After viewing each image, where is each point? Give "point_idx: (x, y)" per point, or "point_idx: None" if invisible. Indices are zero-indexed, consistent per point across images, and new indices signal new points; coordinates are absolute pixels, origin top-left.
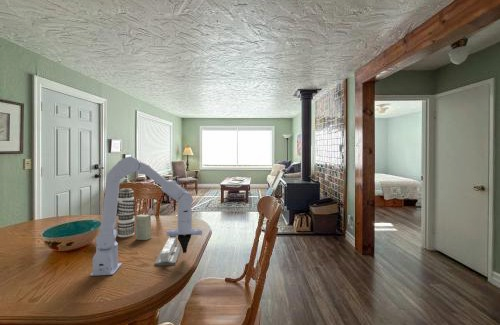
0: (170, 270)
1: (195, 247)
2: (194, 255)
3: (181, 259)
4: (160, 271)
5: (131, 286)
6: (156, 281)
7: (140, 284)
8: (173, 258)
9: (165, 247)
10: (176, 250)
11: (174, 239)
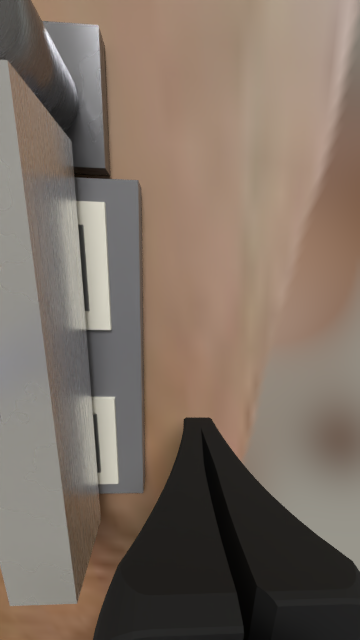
0: (131, 529)
1: (272, 170)
2: (256, 355)
3: (171, 410)
4: None
5: (4, 628)
6: (92, 604)
7: (34, 618)
8: (120, 438)
9: (2, 492)
10: (112, 287)
11: (23, 207)
